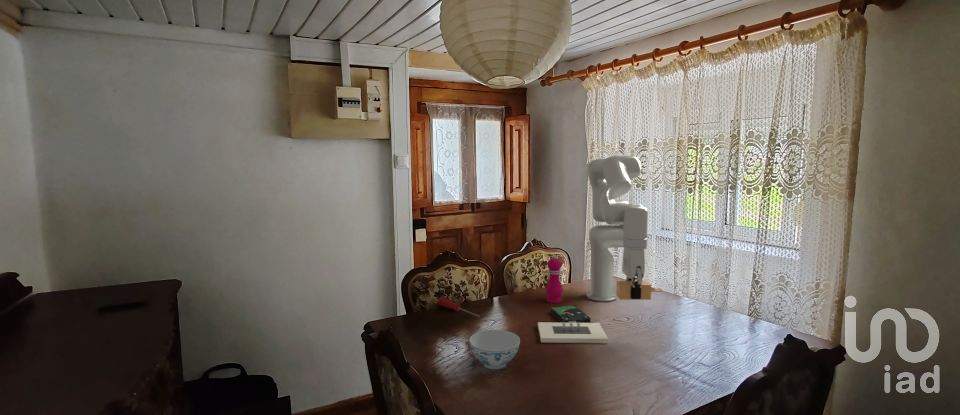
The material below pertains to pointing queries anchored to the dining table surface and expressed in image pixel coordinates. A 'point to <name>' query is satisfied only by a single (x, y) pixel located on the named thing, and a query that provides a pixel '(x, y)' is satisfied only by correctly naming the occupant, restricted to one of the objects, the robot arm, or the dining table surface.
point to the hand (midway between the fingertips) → (633, 295)
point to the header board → (571, 332)
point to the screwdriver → (451, 305)
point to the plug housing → (625, 290)
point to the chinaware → (494, 347)
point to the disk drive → (570, 314)
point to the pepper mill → (554, 281)
